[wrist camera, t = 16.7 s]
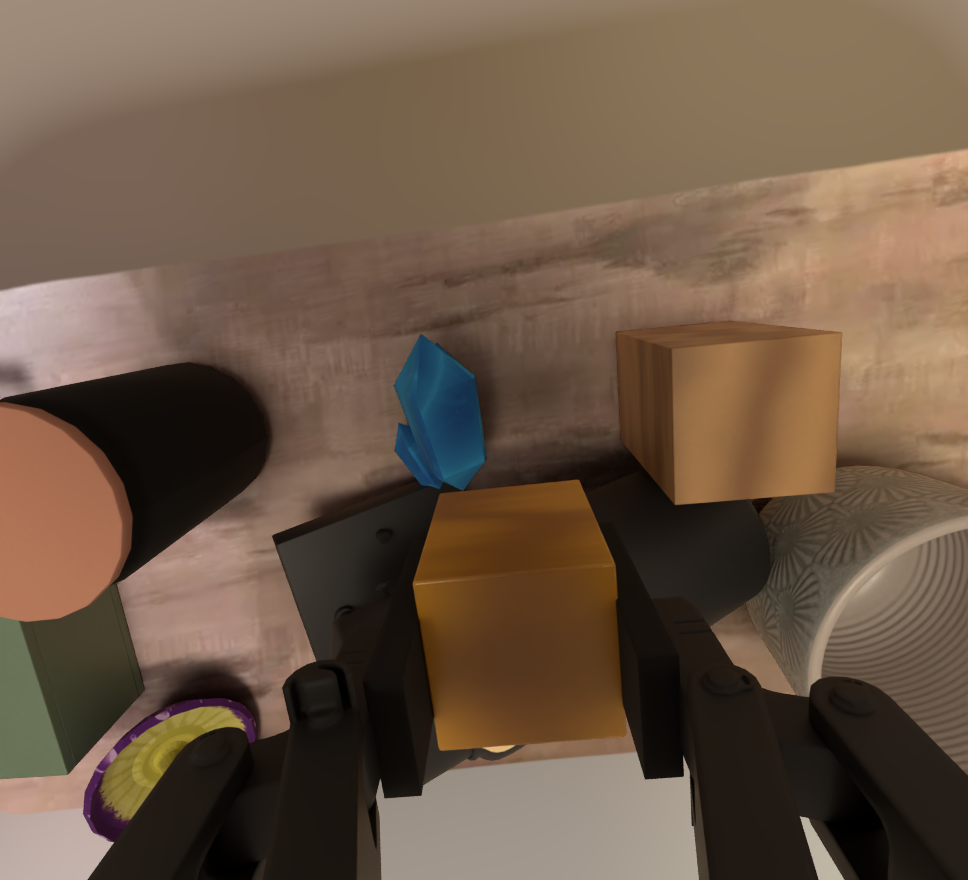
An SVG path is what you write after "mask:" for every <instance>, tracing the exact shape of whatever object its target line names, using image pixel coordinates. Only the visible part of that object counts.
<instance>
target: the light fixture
mask: <svg viewBox="0 0 968 880" xmlns="http://www.w3.org/2000/svg"><path fill="white" fill-rule="evenodd" d="M460 491H462V490H460V489H458V488H456V487H454V486H452V485H450V484H448V483H445V482H443V483H442V485H441V487H440V489H438V488H435V487H432V486H423V485H421V484H420V483H419V481H418V480H417V481H415V482H412V483H409V484H407V485H404V486H401V487H399V488H396V489H393V490H391V491H388V492H385V493H383V494H380V495H378V496H375V497H372V498H370V499H367V500H364V501H362V502H359V503H356V504H354V505H351V506H348V507H346V508H343V509H340V510H338V511H335V512H333V513H330V514H327V515H325V516H322V517H319V518H317V519H314V520H311V521H309V522H306V523H303V524H301V525H298V526H295V527H293V528H290V529H288V530H285V531H282V532H280V533H277V534H274V535H273V536H272V538H273V541H274V543H275V546H276V549H277V552H278V555H279V557H280V560H281V563H282V566H283V569H284V571H285V574H286V577H287V580H288V583H289V585H290V588H291V591H292V594H293V597H294V599H295V602H296V605H297V608H298V611H299V613H300V616H301V619H302V622H303V625H304V627H305V630H306V633H307V636H308V639H309V641H310V644H311V647H312V650H313V653H314V655H315V658H316V661H320V660H329V659H334V660H335V659H336V657H337V655H339V650H340V648H341V646H342V644H343V641H344V639H345V638H346V637H347V636H348V635H349V634H350V633H351V632H353V631H354V630H355V629H356V628H357V627H358V626H369V625H381V624H383V623H384V620H385V617H386V614H387V611H388V609H389V606H390V603H391V600H392V597H393V595H394V592H395V589H396V586H397V583H398V580H399V578H400V575H401V572H402V569H403V566H404V564H405V561H406V558H407V555H408V552H409V549H410V547H411V544H412V541H419V540H426V538H427V535H428V531H429V528H430V525H431V521H432V518H433V515H434V512H435V508H436V505H437V502H438V498H439V495H440V494H441V493H450V492H460ZM585 495H586V497H587V499H588V502H589V504H590V506H591V509H592V511H593V513H594V516H595V518H596V520H597V523H606V522H613V523H614V525H615V527H616V529H617V531H618V533H619V535H620V537H621V539H622V541H623V543H624V545H625V547H626V549H627V551H628V553H629V555H630V557H631V559H632V561H633V563H634V565H635V567H636V569H637V571H638V573H639V575H640V577H641V579H642V581H643V583H644V586H645V588H646V590H647V592H648V594H649V596H650V598H651V599H657V598H668V597H679V596H682V597H683V598H685V599H686V600H688V601H689V602H691V603H692V604H694V605H695V606H697V607H698V609H699V610H700V612H701V614H702V615H703V617H704V618H705V622H707V623H708V625H709V626H711V625H713V624H714V623H716V622H717V621H719V620H720V619H722V618H723V617H725V616H726V615H728V614H729V613H731V612H732V611H734V610H735V609H737V608H738V607H740V606H741V605H743V604H744V603H746V602H747V601H749V600H750V599H752V598H754V597H755V596H756V595H758V594H759V593H760V591H761V590H762V589H763V587H764V586H765V584H766V582H767V580H768V576H769V573H770V566H771V554H770V546H769V542H768V537H767V534H766V531H765V528H764V526H763V523H762V521H761V519H760V517H759V515H758V513H757V511H756V509H755V508H754V506H753V504H752V503H751V501H750V500H749V499H744V500H732V501H719V502H707V503H695V504H682V505H675V504H674V503H673V502H672V501H671V500H670V498H669V497H668V496H667V495H666V494H665V492H664V491H663V490H662V489H661V488H660V486H659V485H658V484H657V483H656V482H655V481H654V479H653V478H652V477H651V476H650V475H649V473H648V472H647V471H646V470H645V469H642V470H639V471H637V472H634V473H632V474H630V475H627V476H625V477H622V478H620V479H617V480H615V481H613V482H610V483H608V484H605V485H603V486H600V487H598V488H596V489H593V490H591V491H588V492H586V493H585ZM525 745H526V744H523V745H510V746H497V747H484V748H471V749H458V750H445V751H441V750H440V749H439V747H438V741H437V735H436V729H435V722H434V718H433V725H432V731H431V738H430V744H429V750H428V757H427V763H426V770H425V776H424V782H423V785H424V784H426V783H427V782H429V781H431V780H433V779H434V778H436V777H437V776H439V775H441V774H442V773H444V772H446V771H447V770H449V769H451V768H452V767H454V766H456V765H457V764H459V763H461V762H462V761H464V760H465V759H469V760H476V759H477V758H479V757H481V758H483V759H486V760H491V761H493V760H499V759H501V758H504V757H506V756H508V755H510V754H512V753H514V752H515V751H517V750H519V749H520V748H522V747H523V746H525ZM380 779H381V777H380Z"/></svg>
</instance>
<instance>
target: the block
mask: <svg viewBox="0 0 968 880" xmlns="http://www.w3.org/2000/svg"><path fill="white" fill-rule="evenodd" d="M413 589H414V596H415V602H416V608H417V615H418V621H419V627H420V634H421V640H422V646H423V653H424V659H425V665H426V672H427V678H428V684H429V691H430V697H431V703H432V710H433V716H434V722H435V729H436V735H437V741H438V747H439V749H440V750H441V751H445V750H458V749H471V748H484V747H497V746H510V745H523V744H536V743H550V742H563V741H576V740H589V739H602V738H615V737H624V736H626V733H627V730H626V715H625V710H624V707H623V700H622V685H621V670H620V655H619V640H618V625H617V610H616V600H617V599H618V593H617V578H616V565H615V563H614V560H613V558H612V556H611V553H610V551H609V548H608V546H607V544H606V541H605V539H604V537H603V534H602V532H601V530H600V527H599V525H598V523H597V520H596V518H595V516H594V513H593V511H592V509H591V506H590V504H589V502H588V499H587V497H586V495H585V492H584V490H583V488H582V485H581V483H580V481H579V480H570V481H560V482H550V483H540V484H530V485H520V486H510V487H500V488H490V489H480V490H470V491H460V492H450V493H441V494H440V495H439V498H438V502H437V505H436V508H435V512H434V515H433V518H432V521H431V525H430V528H429V531H428V535H427V538H426V541H425V545H424V548H423V551H422V555H421V558H420V561H419V564H418V568H417V571H416V574H415V578H414V581H413Z"/></svg>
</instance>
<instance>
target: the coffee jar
mask: <svg viewBox="0 0 968 880" xmlns="http://www.w3.org/2000/svg"><path fill="white" fill-rule="evenodd" d="M266 442H267V434H266V430H265V425H264V420H263V416H262V414H261V412H260V410H259V408H258V407H257V405H256V403H255V401H254V399H253V398H252V396H251V395H250V394H249V393H248V392H247V391H246V390H245V389H244V388H243V387H242V386H241V385H240V384H239V383H238V382H237V381H236V380H235V379H234V378H232V377H230V376H228V375H226V374H224V373H222V372H221V371H219V370H217V369H215V368H213V367H210V366H205V365H200V364H194V363H189V362H188V363H180V364H172V365H165V366H160V367H155V368H150V369H145V370H140V371H135V372H130V373H125V374H120V375H115V376H110V377H105V378H100V379H95V380H90V381H85V382H80V383H75V384H70V385H65V386H60V387H55V388H50V389H45V390H40V391H35V392H30V393H25V394H20V395H15V396H10V397H5V398H3V399H1V400H0V617H3V618H9V619H14V620H19V621H25V622H29V621H39V620H49V619H59V618H62V617H64V616H66V615H69V614H71V613H73V612H75V611H78V610H80V609H82V608H84V607H86V606H89V605H90V604H91V603H92V602H93V601H95V600H96V599H97V598H98V597H99V596H100V595H101V594H102V593H103V592H104V591H105V590H106V589H107V588H108V587H109V586H111V585H113V584H116V583H118V582H120V581H122V580H124V579H126V578H127V577H128V576H130V575H131V574H132V573H134V572H135V571H137V570H138V569H139V568H141V567H142V566H143V565H145V564H146V563H147V562H149V561H150V560H151V559H153V558H154V557H155V556H157V555H158V554H159V553H161V552H162V551H163V550H165V549H166V548H167V547H169V546H170V545H171V544H173V543H174V542H175V541H177V540H178V539H179V538H181V537H182V536H183V535H185V534H186V533H188V532H189V531H190V530H192V529H193V528H194V527H196V526H197V525H198V524H200V523H201V522H202V521H204V520H205V519H206V518H208V517H209V516H210V515H212V514H213V513H214V512H216V511H217V510H218V509H220V508H221V507H222V506H224V505H225V504H226V503H228V502H229V501H230V500H232V499H233V498H234V497H236V496H237V495H239V494H240V493H241V492H242V491H243V490H244V489H245V488H246V487H247V486H248V485H249V484H250V483H251V482H252V481H253V480H254V479H255V478H256V477H257V475H258V472H259V470H260V468H261V466H262V464H263V462H264V460H265V452H266Z"/></svg>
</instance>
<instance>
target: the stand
mask: <svg viewBox="0 0 968 880" xmlns="http://www.w3.org/2000/svg"><path fill="white" fill-rule="evenodd" d="M841 347H842V332H834V331H824V330H815V329H805V328H795V327H785V326H775V325H765V324H755V323H745V322H735V321H723V322H712V323H702V324H692V325H681V326H671V327H661V328H650V329H640V330H630V331H619V332H616V349H617V371H618V394H619V417H620V440H621V441H622V442H623V444H624V445H625V446H626V447H627V448H628V450H629V451H630V452H631V453H632V454H633V455H634V457H635V458H636V459H637V460H638V461H639V463H640V464H641V465H642V466H643V467H644V469H645V470H646V471H647V472H648V473H649V475H650V476H651V477H652V478H653V479H654V481H655V482H656V483H657V484H658V485H659V486H660V488H661V489H662V490H663V491H664V492H665V494H666V495H667V496H668V497H669V498H670V500H671V501H672V502H673V503H674V504H675V505H682V504H695V503H707V502H719V501H732V500H744V499H756V498H768V497H781V496H793V495H805V494H818V493H830V492H835V478H836V456H837V434H838V412H839V390H840V368H841Z"/></svg>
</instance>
